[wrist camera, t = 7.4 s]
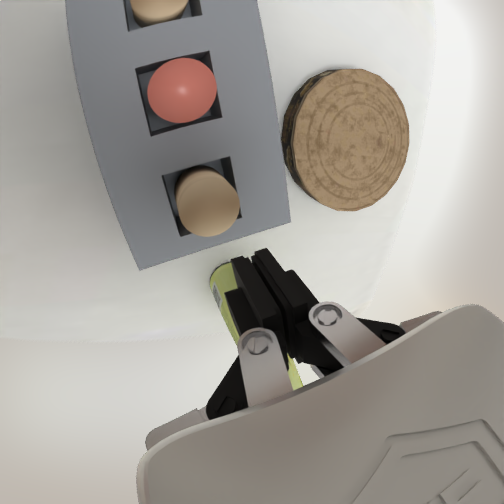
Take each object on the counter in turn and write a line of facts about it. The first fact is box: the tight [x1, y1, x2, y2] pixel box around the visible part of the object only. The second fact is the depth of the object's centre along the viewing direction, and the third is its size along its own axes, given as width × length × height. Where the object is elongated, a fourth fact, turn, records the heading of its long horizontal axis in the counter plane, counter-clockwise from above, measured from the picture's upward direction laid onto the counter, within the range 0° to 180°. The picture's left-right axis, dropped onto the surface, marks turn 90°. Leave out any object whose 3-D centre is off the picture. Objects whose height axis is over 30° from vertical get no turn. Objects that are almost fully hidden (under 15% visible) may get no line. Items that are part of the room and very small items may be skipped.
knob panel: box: [65, 0, 291, 271], centre depth 19 cm, size 26×14×5 cm, turn 10°
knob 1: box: [130, 0, 188, 28], centre depth 14 cm, size 4×4×4 cm
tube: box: [210, 263, 303, 390], centre depth 25 cm, size 6×5×20 cm
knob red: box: [147, 58, 217, 123], centre depth 17 cm, size 4×4×4 cm
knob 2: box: [174, 165, 240, 237], centre depth 22 cm, size 4×4×4 cm
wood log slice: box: [281, 69, 409, 211], centre depth 28 cm, size 16×16×3 cm
